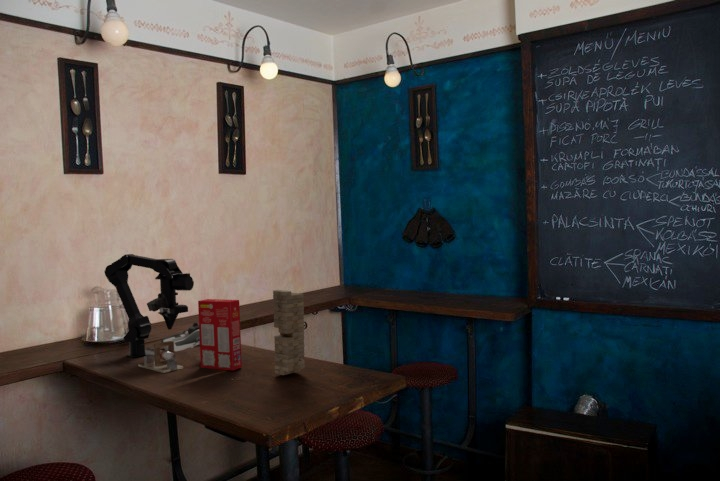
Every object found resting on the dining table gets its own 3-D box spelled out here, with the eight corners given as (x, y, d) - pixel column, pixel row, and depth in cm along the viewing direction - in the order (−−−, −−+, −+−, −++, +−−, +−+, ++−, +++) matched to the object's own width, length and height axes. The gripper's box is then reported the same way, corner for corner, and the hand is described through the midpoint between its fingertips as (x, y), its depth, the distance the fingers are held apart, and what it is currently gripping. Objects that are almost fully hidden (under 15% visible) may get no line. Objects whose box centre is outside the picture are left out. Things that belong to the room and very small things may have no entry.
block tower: (307, 371, 207) (304, 289, 207) (288, 376, 201) (284, 291, 201) (293, 368, 213) (290, 288, 212) (274, 373, 207) (271, 290, 206)
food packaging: (241, 367, 218) (239, 299, 217) (233, 370, 213) (230, 301, 212) (210, 364, 224) (207, 299, 223) (200, 367, 219) (198, 300, 218)
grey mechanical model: (138, 366, 224) (137, 349, 224) (157, 362, 230) (156, 345, 230) (163, 372, 213) (163, 354, 212) (183, 368, 219) (182, 350, 219)
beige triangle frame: (154, 366, 217) (153, 344, 217) (171, 362, 223) (170, 340, 223) (157, 366, 216) (156, 344, 216) (174, 362, 221) (173, 341, 221)
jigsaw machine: (171, 366, 245) (174, 344, 240) (159, 352, 251) (162, 330, 246) (213, 353, 259) (217, 332, 254) (201, 340, 265) (204, 319, 260)
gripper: (137, 291, 234) (138, 330, 235) (162, 293, 222) (164, 335, 222) (162, 288, 243) (163, 326, 243) (188, 290, 230) (189, 330, 231)
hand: (169, 329), depth 235 cm, fingers closed
